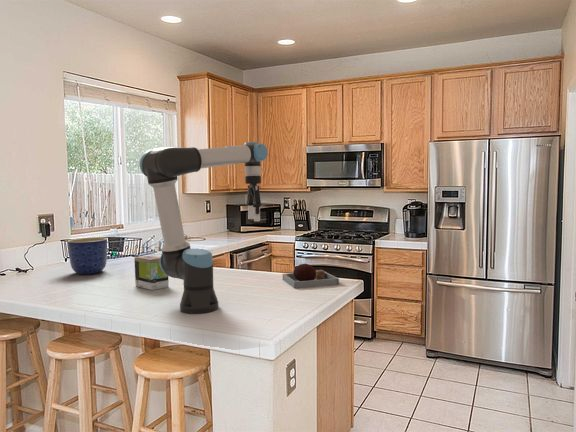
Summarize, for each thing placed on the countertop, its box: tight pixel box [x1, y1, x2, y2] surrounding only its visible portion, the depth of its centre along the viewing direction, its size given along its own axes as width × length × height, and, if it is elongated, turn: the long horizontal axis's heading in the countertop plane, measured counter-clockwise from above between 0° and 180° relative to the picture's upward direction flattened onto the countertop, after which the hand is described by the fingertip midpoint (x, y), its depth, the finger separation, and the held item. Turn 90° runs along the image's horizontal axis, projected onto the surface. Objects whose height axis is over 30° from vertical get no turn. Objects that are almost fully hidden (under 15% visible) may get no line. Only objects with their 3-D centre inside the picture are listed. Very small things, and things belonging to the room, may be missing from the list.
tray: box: [282, 270, 340, 289], centre depth 228 cm, size 22×20×4 cm
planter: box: [66, 236, 108, 276], centre depth 265 cm, size 21×21×19 cm
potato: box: [292, 263, 317, 281], centre depth 228 cm, size 9×12×9 cm
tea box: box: [134, 254, 170, 291], centre depth 227 cm, size 15×10×15 cm
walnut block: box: [315, 269, 325, 280], centre depth 236 cm, size 4×4×4 cm
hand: (254, 220), depth 224 cm, fingers open, 13 cm apart
